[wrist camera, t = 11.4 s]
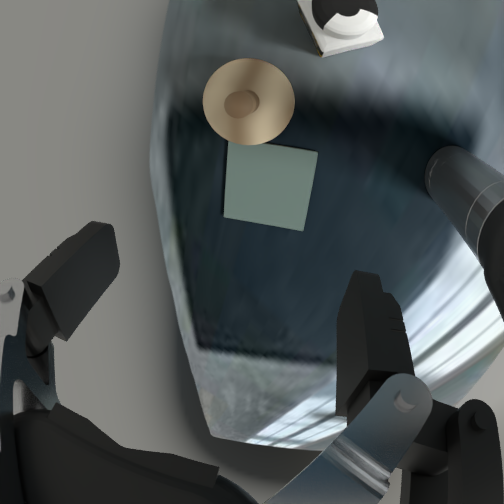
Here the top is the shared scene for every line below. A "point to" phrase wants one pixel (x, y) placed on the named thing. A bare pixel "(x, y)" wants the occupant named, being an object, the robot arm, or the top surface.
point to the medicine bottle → (340, 24)
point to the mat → (269, 184)
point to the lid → (248, 101)
